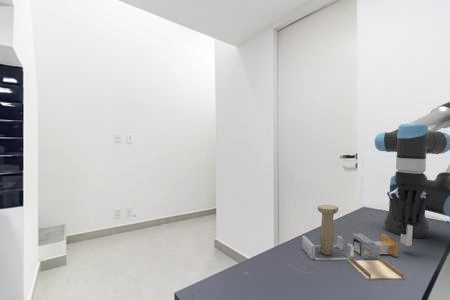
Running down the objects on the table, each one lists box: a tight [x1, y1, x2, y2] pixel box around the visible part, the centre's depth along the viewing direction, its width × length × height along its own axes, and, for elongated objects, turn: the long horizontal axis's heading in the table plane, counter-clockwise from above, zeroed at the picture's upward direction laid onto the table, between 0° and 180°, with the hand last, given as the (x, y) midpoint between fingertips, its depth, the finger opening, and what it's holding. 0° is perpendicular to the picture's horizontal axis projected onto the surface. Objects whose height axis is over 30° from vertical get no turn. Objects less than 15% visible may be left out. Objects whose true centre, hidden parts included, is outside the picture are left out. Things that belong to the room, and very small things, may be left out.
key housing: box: [350, 233, 381, 260], centre depth 76 cm, size 5×7×5 cm
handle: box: [317, 204, 339, 256], centre depth 75 cm, size 5×6×15 cm
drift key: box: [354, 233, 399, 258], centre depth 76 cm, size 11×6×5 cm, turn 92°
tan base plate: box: [347, 256, 406, 281], centre depth 66 cm, size 10×9×2 cm
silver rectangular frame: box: [301, 235, 355, 261], centre depth 76 cm, size 13×9×4 cm
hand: (405, 243), depth 76 cm, fingers closed
